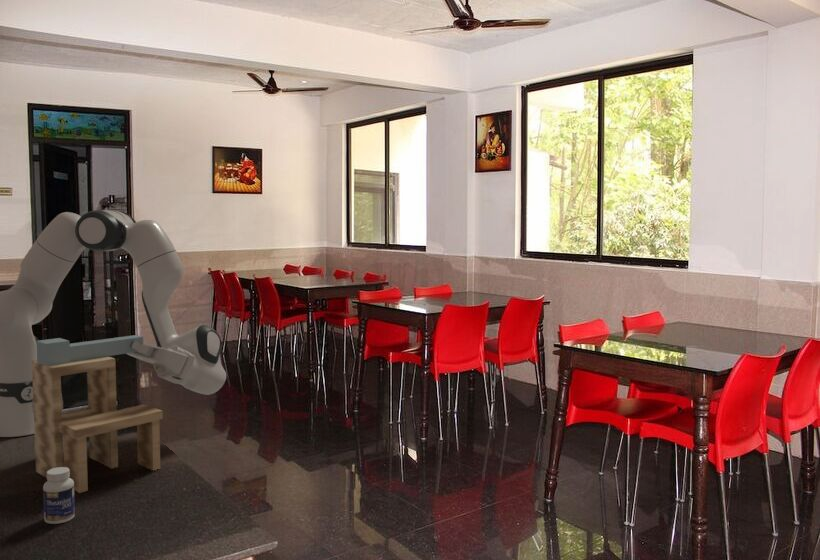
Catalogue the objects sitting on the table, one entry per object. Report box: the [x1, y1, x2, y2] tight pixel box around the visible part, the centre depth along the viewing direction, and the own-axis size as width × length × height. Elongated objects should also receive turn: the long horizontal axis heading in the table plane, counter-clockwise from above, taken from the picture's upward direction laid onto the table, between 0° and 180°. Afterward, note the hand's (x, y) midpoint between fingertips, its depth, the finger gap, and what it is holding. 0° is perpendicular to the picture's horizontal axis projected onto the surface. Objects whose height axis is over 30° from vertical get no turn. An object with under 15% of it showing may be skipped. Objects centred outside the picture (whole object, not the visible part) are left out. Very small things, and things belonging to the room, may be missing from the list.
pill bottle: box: [42, 467, 76, 525], centre depth 133 cm, size 5×5×10 cm
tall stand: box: [32, 356, 119, 479], centre depth 158 cm, size 11×14×26 cm
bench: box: [59, 403, 164, 494], centre depth 155 cm, size 8×20×14 cm, turn 140°
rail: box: [36, 334, 144, 366], centre depth 160 cm, size 5×23×5 cm, turn 140°
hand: (126, 342), depth 167 cm, fingers closed on rail, 3 cm apart
